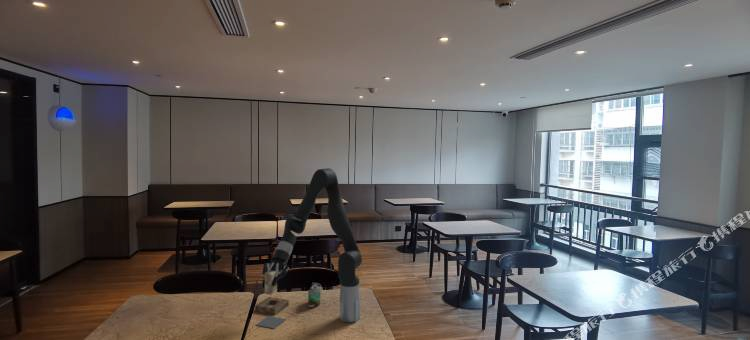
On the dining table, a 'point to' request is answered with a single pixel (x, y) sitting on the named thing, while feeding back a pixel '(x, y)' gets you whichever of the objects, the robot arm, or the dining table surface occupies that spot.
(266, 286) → the beech peg
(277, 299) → the walnut eye block
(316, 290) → the food container
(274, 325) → the blue-grey square plate
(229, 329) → the dining table surface
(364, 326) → the dining table surface
